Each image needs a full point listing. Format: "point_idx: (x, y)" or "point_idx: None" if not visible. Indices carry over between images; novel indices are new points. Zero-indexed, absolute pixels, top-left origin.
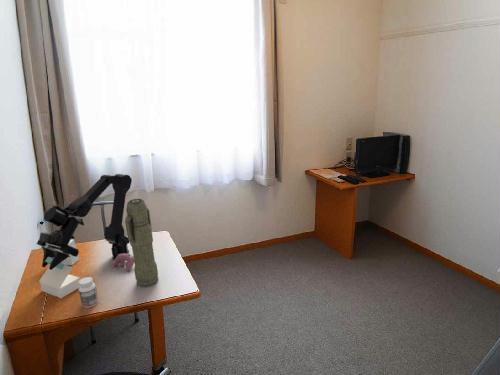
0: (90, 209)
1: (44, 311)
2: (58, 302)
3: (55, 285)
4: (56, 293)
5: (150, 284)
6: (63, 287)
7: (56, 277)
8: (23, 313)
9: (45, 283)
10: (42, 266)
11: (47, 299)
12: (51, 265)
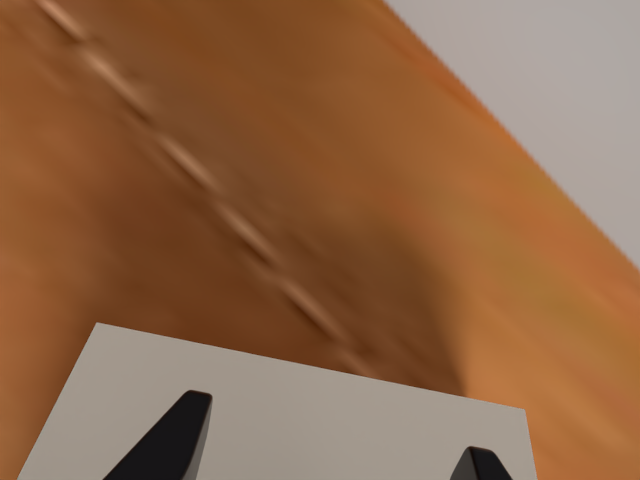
0: None
1: (132, 114)
2: (100, 270)
3: (163, 359)
4: None
5: None
6: None
7: (220, 478)
8: (317, 53)
9: (381, 388)
10: (469, 447)
11: (271, 289)
12: (132, 450)
